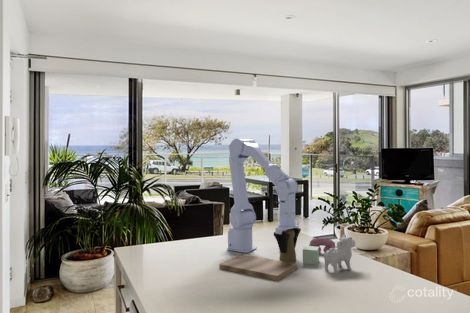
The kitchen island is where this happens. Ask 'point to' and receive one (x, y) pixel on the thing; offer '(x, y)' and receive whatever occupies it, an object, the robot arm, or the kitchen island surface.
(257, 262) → the walnut board
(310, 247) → the sage block
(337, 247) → the dog figurine
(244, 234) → the robot arm
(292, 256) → the olive peg
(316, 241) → the pink toy figurine
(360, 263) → the kitchen island surface
